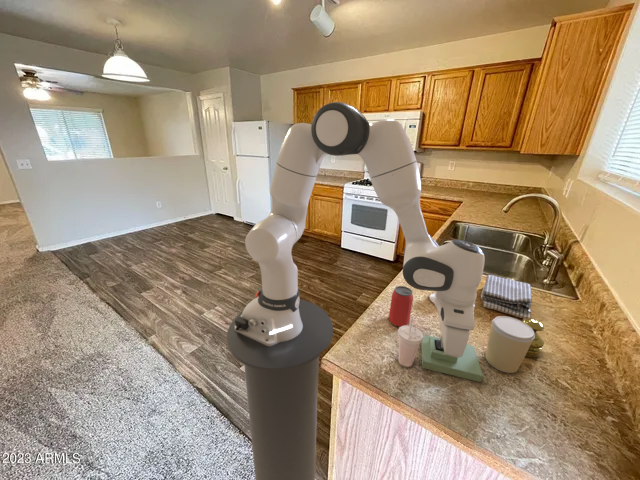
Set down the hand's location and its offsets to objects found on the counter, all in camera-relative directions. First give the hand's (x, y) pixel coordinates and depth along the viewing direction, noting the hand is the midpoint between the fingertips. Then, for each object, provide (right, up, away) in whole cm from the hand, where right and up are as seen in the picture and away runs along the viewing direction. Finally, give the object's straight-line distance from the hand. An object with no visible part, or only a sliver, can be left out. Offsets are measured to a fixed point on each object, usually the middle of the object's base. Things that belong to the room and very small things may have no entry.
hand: (443, 345), depth 72 cm
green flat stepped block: (+2, -4, +1) cm, 5 cm away
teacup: (+13, +5, +28) cm, 32 cm away
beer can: (-8, +1, +16) cm, 18 cm away
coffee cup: (+16, -5, +1) cm, 17 cm away
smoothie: (-11, -5, 0) cm, 12 cm away
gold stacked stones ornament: (+26, -4, +6) cm, 27 cm away
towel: (+36, +5, +28) cm, 46 cm away
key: (0, -2, +1) cm, 2 cm away
